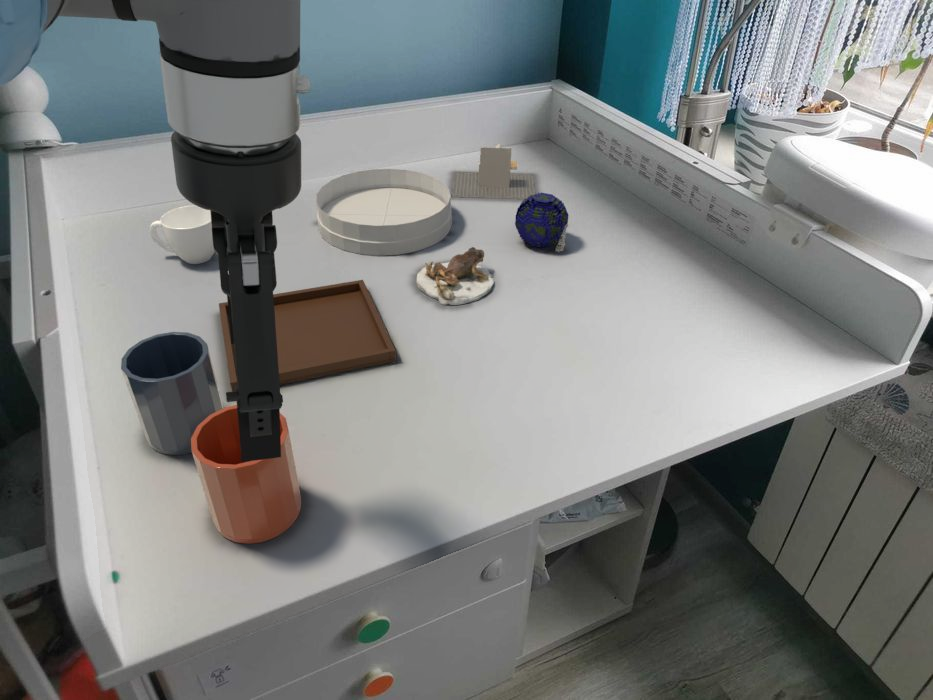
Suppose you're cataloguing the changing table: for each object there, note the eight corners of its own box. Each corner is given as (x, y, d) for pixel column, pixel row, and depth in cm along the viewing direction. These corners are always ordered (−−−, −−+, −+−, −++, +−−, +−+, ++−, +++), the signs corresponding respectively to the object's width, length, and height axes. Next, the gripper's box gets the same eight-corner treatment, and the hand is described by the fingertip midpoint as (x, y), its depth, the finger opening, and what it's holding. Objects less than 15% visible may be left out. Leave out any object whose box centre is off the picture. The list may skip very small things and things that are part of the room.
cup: (216, 270, 103) (207, 229, 99) (148, 269, 103) (136, 228, 99) (230, 245, 109) (222, 205, 105) (165, 244, 109) (155, 204, 105)
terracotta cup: (217, 554, 63) (193, 478, 57) (211, 488, 69) (189, 414, 63) (308, 530, 66) (294, 454, 60) (294, 469, 72) (280, 395, 66)
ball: (571, 236, 114) (576, 192, 109) (558, 257, 108) (563, 212, 103) (524, 227, 116) (527, 184, 111) (509, 247, 110) (512, 203, 106)
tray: (232, 394, 81) (230, 383, 80) (221, 313, 94) (218, 303, 93) (396, 361, 86) (395, 350, 85) (363, 289, 100) (362, 279, 98)
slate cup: (146, 462, 72) (119, 388, 66) (146, 412, 78) (122, 340, 72) (229, 444, 74) (210, 371, 68) (222, 396, 80) (205, 326, 74)
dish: (450, 257, 107) (450, 227, 104) (306, 254, 107) (302, 225, 104) (452, 196, 125) (453, 169, 122) (329, 193, 125) (326, 167, 122)
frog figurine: (457, 253, 109) (457, 230, 106) (511, 283, 102) (513, 260, 99) (398, 277, 102) (397, 254, 100) (453, 312, 95) (453, 288, 93)
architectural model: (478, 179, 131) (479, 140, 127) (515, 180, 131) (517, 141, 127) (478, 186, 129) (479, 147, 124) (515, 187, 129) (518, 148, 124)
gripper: (333, 231, 34) (326, 509, 47) (279, 66, 52) (285, 300, 65) (167, 235, 32) (207, 528, 45) (171, 61, 50) (199, 305, 63)
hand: (253, 393), depth 55 cm, fingers open, 13 cm apart
